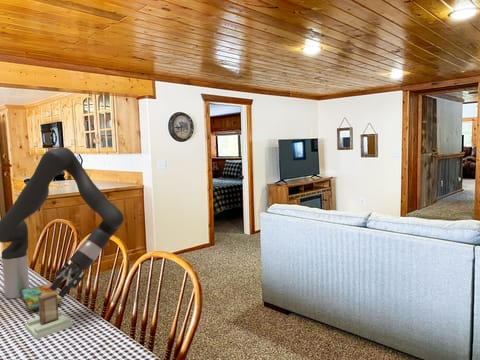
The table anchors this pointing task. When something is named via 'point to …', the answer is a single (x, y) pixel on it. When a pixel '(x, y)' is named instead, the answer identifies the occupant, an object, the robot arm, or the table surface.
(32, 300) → the puzzle game
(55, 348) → the table surface
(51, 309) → the wooden block
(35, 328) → the plinth
